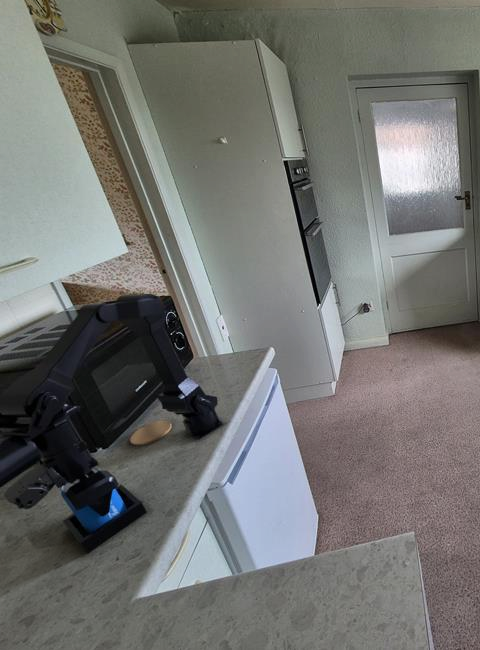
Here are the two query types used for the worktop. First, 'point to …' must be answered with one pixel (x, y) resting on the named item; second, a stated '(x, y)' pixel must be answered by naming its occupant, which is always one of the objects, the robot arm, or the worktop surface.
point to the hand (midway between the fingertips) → (97, 506)
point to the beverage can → (89, 516)
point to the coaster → (150, 433)
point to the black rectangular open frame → (111, 526)
